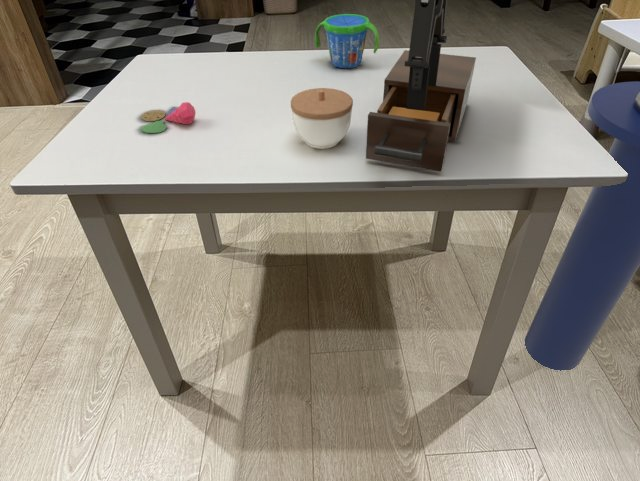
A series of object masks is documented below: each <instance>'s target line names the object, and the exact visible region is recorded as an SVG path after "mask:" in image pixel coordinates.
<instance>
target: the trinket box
mask: <svg viewBox="0 0 640 481" xmlns="http://www.w3.org/2000/svg"><path fill="white" fill-rule="evenodd" d="M353 106H354V101H353V98H352V96H351V95H350V94H348V92H345V91H343V90H340V89H335V88H330V87H318V88H310V89H309V88H308V89H306V90H302V91H300V92H297V93H296V94H294V96H292V98H291V99H290V108H291V117H292V122H293V126H294V129H295V131H296V133H297V135H298V136H299V138H301V140H302V141H304V142H305V143H306V145H307V146H309V147H311V148H313V149H318V150H327V149H331V148H333V147H336V146H337V145H339V142H341V140H343V139H344V137H345V136H346V135H347V133H348V131H349V129H350V126H351V122H352V117H353V116H352V114H353Z"/></svg>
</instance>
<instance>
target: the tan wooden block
mask: <svg viewBox="0 0 640 481" xmlns="http://www.w3.org/2000/svg"><path fill="white" fill-rule="evenodd" d="M389 115H396V116H403V117H410V118H417V119H424V120H431V121H438V122H439V116H440V113H437V112H430V111H422V110H413V109H406V108H401V107H392V109H391V110H390V112H389Z"/></svg>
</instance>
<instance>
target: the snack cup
mask: <svg viewBox="0 0 640 481" xmlns="http://www.w3.org/2000/svg"><path fill="white" fill-rule="evenodd" d="M322 27H324V30H325V33H326V40H327V45H328V53H329V59H330V62H331V65H333V66H334V67H335V68H339V69H352V68H356V67H358V66H361V64H362V62H363V56H364V51H365V44H366V38H367V33H368V30H370V31H371V32H372V33H373V36H374V46H373V54H376V53H377V51H378V50H379V45H380V36H379V32H378V30H377V28H376V26H375V25H374V24H373V23H371V22H370V19H369V18H368V17H367V16H365V15H361V14H354V13H344V14H343V13H342V14H341V13H340V14H335V15H331V16H327V17H326V18H325V19H324V20H323V21H322V22H320V23H319V24H318V25H317V27H316V29H315V33H314V45H315V47H316V49H318V48H320V46H321V40H320V30H321V28H322Z"/></svg>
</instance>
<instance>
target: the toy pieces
mask: <svg viewBox="0 0 640 481" xmlns="http://www.w3.org/2000/svg"><path fill="white" fill-rule="evenodd" d="M195 118H196V109H195V106H193V105H192V103H190V102H189V101H188V102H187V101H185V102H182V103H180V106H178V107H175V106H173V107H171V109H170V110H169V111H168V112H167V116H166V112H165V111H163V110H160V109H158V110H155V109H154V110H149V111H145V112H144V113H143V114H142V115H141V119H142V120H143V121H144V122H152V123H149V124H145V125H143V126H142V127H141V128H140V131H141V132H142V133H144V134H145V133H146V134H159V133H162V132H164V131H165V130H167V126H166V124H165V123H166V121H169V122H174V123H178V124H183V125H190V124H191V123H193V122H194V120H195ZM162 119H164V120H166V121H164V120H162Z"/></svg>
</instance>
